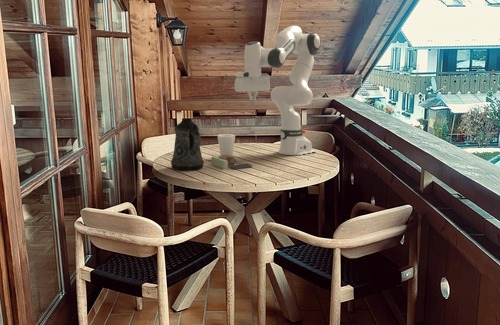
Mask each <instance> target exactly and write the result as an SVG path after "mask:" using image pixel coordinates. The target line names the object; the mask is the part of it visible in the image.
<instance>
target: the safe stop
mask: <svg viewBox="0 0 500 325" xmlns="http://www.w3.org/2000/svg"><path fill="white" fill-rule="evenodd" d="M211 164H212V165H213V166H216V167H218V168H221V169H223V170H226V169H227V170H228V169H229V167H228V161H227V160H224V159H221V158H219V156H216V155H214V156H211Z"/></svg>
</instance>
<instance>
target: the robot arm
mask: <svg viewBox="0 0 500 325" xmlns="http://www.w3.org/2000/svg"><path fill="white" fill-rule="evenodd" d="M274 42H275V47H276V48H275V47H273V48H270V47H269V48H265V47H263V46H262V45H261V42H260V41H250V42H249V41H248V42H247V43H245V46H244V55H243V56H244V70H241V71H238V72H236V73H235V77H236V78H235V80H234V90H235V92H236V93H243V92H244V93H245V92H246V93H247V95H248V97H249V101H256V100H257V97H258V94H259V92H269V91H271V93H270V99H271V101H272V103H274V104H275V105H276V106H277V108H278V110H279V113H280V119H281V120H280V121H281V123H280V124H281V128H280V145H279V149H278V154H281V155H286V156H304V155H303V154H305V155H309V154H308V153H310V154H313V153H312V152H316V153H317V151H316V150H315V149H313V146H312V142H311V140H309V139H308V138H306V137H305V136H304V135H303V134H306V133H307V130H306V129H301V123H302V122H301V120H302V119H301V115H300V114H299V113H298V112H296V110H295V109H294V106H296V107H302V106H304V107H305V106H309V105H310V104H311V103H312V101H313V98H314V95H313V91H312V89H311V88H310V87H309V86H308V83H309V80H310V79H309V78H310V77H311V75H312V74H311V73H312V71H313V67H314V63H315V58H314V56H315V55H316V54H317V53H318V51H319V49H320V47H321V38H320V35H319V34H317V33H315V32H310V33H303V31H302V29H301V27H299V26H298V25H290V26H287V27H285V28H283V30H281V31H279V32H278V33H277V35H276V36H275V40H274ZM295 54H298V55H297V58H296V60H295V62H294V65H293V66H292V69H291V71H290V73H289V81H290V82H291V83H292V84H293V85H291V86H289V85H281V86H275V87H274V88H273V89H272V90H271V82H270V78H271V77H270V75H269V74H268V73H267V72H265V73H264V72H263V73H262V68H275V69H276V68H277V69H280V68H281V67H282V66H284V64H285V62H286V60H287V59H288V58H289V56H290V55H295ZM252 93H253V96H252Z"/></svg>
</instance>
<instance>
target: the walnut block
mask: <svg viewBox="0 0 500 325" xmlns="http://www.w3.org/2000/svg"><path fill="white" fill-rule="evenodd" d="M218 157H219V158H221V159H224V160H227V161H228V168H230V166H231V165H235V162H234V159H235V156H234V155H233V156H231V155H224V156H220V155H219V156H218Z"/></svg>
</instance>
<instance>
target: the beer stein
mask: <svg viewBox="0 0 500 325" xmlns="http://www.w3.org/2000/svg"><path fill="white" fill-rule="evenodd" d="M173 130H174V133H175V140H174V147H173V153H172V158H171V161H170V164H171V167H172V170H173V169H174V171H176V172H177V171H179V172H193V171H194V172H195V171H199V170H201V169H203V168H204V163H205V161H204V159H203V156H202V152H201V151H202V150H201V141H202V136H201V134H200V131H199V130H200V128H199V126H198V125H197V124H196V123H195V122H194V121H193V120H192V118H183V119H181V121H180V122H179V123H177V124H176V125H175V127H174V128H173Z"/></svg>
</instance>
